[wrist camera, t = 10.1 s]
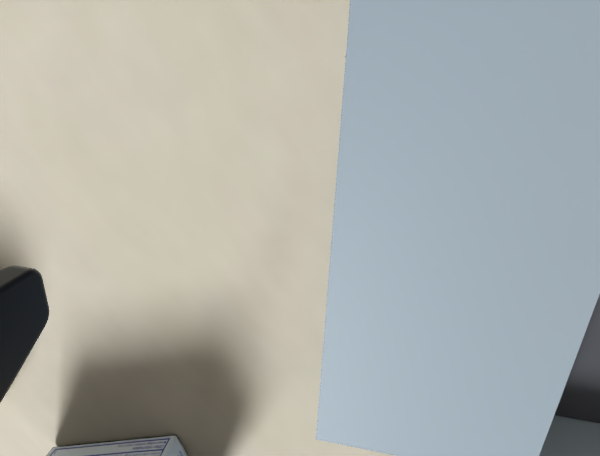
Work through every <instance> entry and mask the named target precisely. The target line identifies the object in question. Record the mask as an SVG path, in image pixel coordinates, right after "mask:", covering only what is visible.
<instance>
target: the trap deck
mask: <svg viewBox="0 0 600 456" xmlns="http://www.w3.org/2000/svg"><path fill="white" fill-rule="evenodd" d="M316 439H317V440H322V441H327V442H332V443H336V444H341V445H346V446H351V447H356V448H361V449H366V450H371V451H376V452H381V453H386V454H391V455H396V456H600V0H350V12H349V24H348V37H347V50H346V63H345V75H344V88H343V101H342V114H341V127H340V139H339V152H338V165H337V178H336V190H335V203H334V216H333V229H332V241H331V254H330V267H329V280H328V292H327V305H326V318H325V331H324V343H323V356H322V369H321V382H320V394H319V407H318V420H317V433H316Z"/></svg>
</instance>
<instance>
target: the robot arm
mask: <svg viewBox="0 0 600 456" xmlns="http://www.w3.org/2000/svg"><path fill="white" fill-rule="evenodd" d="M48 316H49V306H48V302H47V298H46V293H45V289H44V284H43V280H42V276H41V274H40V273H39V271H37V270H35V269H32V268H27V267H21V266H11V267H7V268H5V269H2V270H0V402H1V401H2V399H3V397H4V396H5V394H6V393H7V391H8V389H9V388H10V386H11V384H12V383H13V381H14V379H15V377H16V376H17V374H18V372H19V370H20V369H21V367H22V365H23V363H24V362H25V360H26V358H27V356H28V355H29V353H30V351H31V350H32V348H33V346H34V344H35V343H36V341H37V339H38V337H39V336H40V334H41V332H42V330H43V329H44V327H45V325H46V323H47V320H48Z"/></svg>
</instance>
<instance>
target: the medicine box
mask: <svg viewBox="0 0 600 456" xmlns="http://www.w3.org/2000/svg"><path fill="white" fill-rule="evenodd" d="M46 456H188V455H187V453H186V451H185V449H184V447H183V446H182V444H181V443H180V441H179V439H178V438H177V436H164V437H154V438H144V439H134V440H124V441H114V442H104V443H94V444H84V445H74V446H65V447H53V448H52V449H51V450H50V451H49V453H48V454H47V455H46Z"/></svg>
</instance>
